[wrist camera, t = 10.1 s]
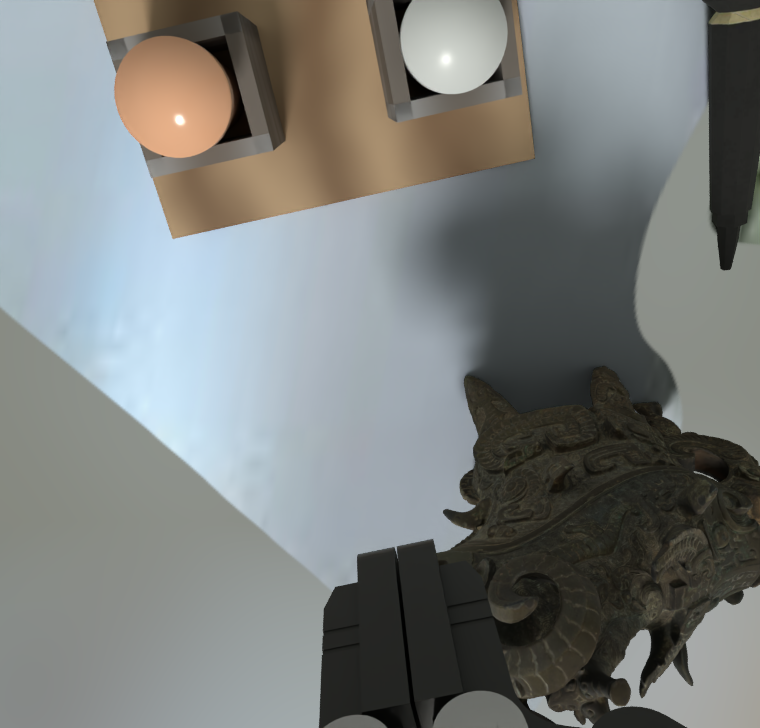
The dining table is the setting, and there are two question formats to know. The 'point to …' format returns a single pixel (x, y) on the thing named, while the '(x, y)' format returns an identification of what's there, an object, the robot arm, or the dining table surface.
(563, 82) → the dining table surface
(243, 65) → the board
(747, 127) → the microphone
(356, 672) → the robot arm
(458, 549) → the vessel
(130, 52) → the terracotta plug
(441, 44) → the white bulb-shaped plug
